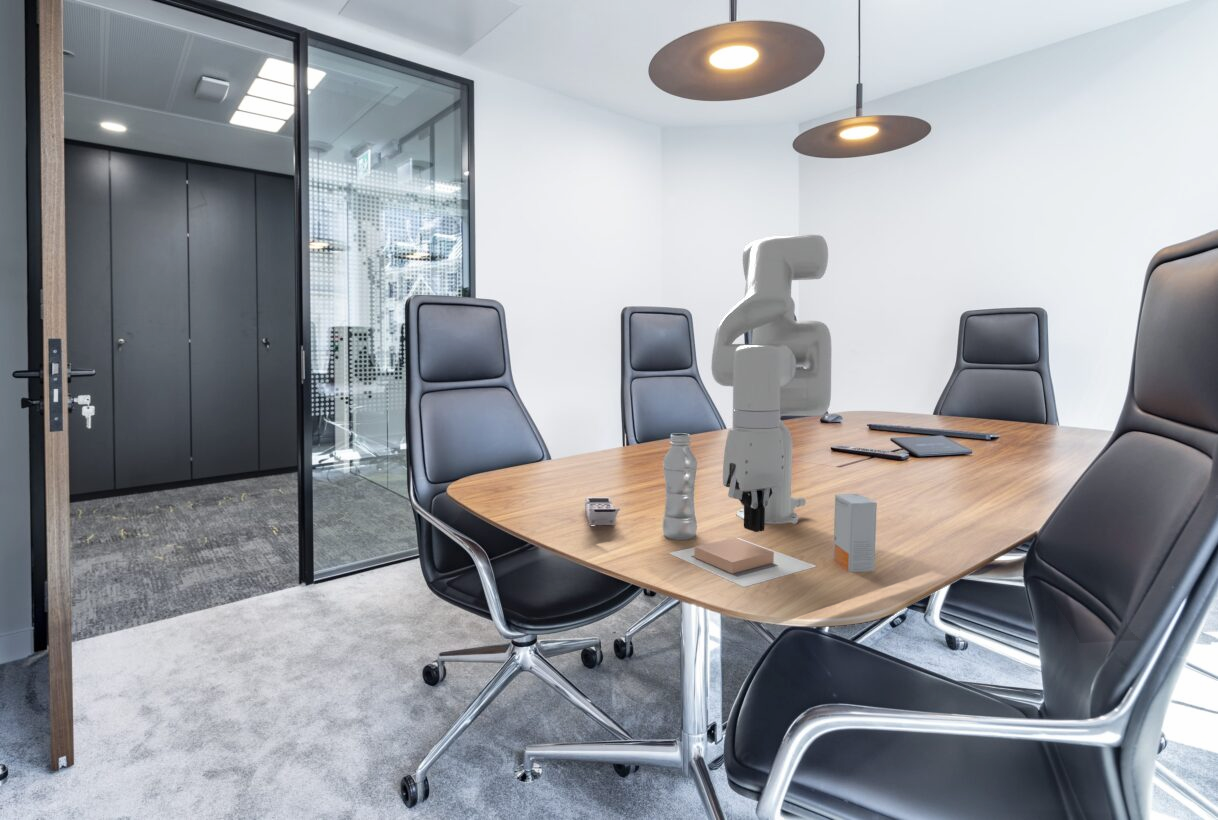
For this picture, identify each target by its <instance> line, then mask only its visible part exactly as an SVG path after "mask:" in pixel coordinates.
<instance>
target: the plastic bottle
mask: <svg viewBox="0 0 1218 820" xmlns="http://www.w3.org/2000/svg"><path fill="white" fill-rule="evenodd" d="M669 440H670V441H669V445H670V449H669V450H668V451H667V453H666V454H665V456H664V457H663V461H662V468H663V477H664V483H665V484H664V485H665V505H664V515H663V519H662V527H661V528H662V533H663V535H664V537H665V538H667V539H670V540H674V541H675V540H676V541H687V540H691V539H694V538H695V537H696V535H697V529H698V522H697V518H696V512H695V511H696V509H695V498H694V497H695V483H696V476H697V468H698V461H697V458H696V456H695V455H694V453H693V451H692V450H691V449H690V445H691V435H690V434H689V433H683V432H682V433H680V432H679V433H678V432H676V433H671V434H670V439H669Z"/></svg>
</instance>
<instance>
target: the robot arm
mask: <svg viewBox="0 0 1218 820" xmlns="http://www.w3.org/2000/svg"><path fill="white" fill-rule="evenodd" d="M828 261H829V248H828V243H827V241H826V239H825V238H824V236H822V235H819V234H802V235H801V234H799V235H783V236H770V237H765V238H763V239H762V238H761V239H758V240H754V241H752V242H750V243H748V245H746V246H745V247H744V250H743V251H742V267H743V274H744V278H745V288H744V289H745V290H744V298H743V299H742V300H740V301H739V302H738V303H737V304H735V306H733V307H732V308H730V310H729V311H728V312H727V313H726V314H725V316H723V318H722V319H721V321H720V322H719V324H718V326H717V329H716V331H715V336H714V340H713V348H712V353H711V354H712V355H711V374H712V377H713V380H714V381H715V382H716V383H717V384H718V385H721V386H722V387H732V428H729V429H728V432H727V436H726V440H725V448H724V456H723V463H722V464H723V469H722V484H723V486H724V487H725V488H729V489H728V494H727V495H728V497H729V498H731V499H735V500H739V501H740V504H741V506H743V508H741V509H738V510H736V513H735V515H736V516H735V517H738V518H739V519H741V520H743V527H744V529H746V530H748V531H752V532H753V533H754V532H755V533H759V532H763V531H765V529H766V528H765V526H766V524H767V525H772V524H773V525H774V524H775V525H779V524H780V525H781V524H789V523H790V524H794V525H797V523H798V522H799V515H798V514H797V513H795V512H794V511H795V509H796V508H800V507H803V506H806V499H805V498H804V497H802V496H800V497H795V498H794V497H793V496H792V475H793V473H792V472H793V471H792V469H793V465H792V464H793V437H792V433H791V431H790V429H789V428H788V426H786V424H785V423H784V422H783V421H782V419H781V418H782V417H783V416H794V417H795V416H796V417H798V416H800V417H804V416H805V417H818V416H822V415H824V414H825V413H827V411H828V410H829V408H830V404H831V397H832V336H831V332H830V329H829V327H828V326H827V324H825V323H824V322H823V321H818V320H795V309H796V307H795V306H796V304H795V301H794V299H793V298H792V284H793V283H792V281H806V280H807V281H809V280H820V279H822V278H823V277H824V275H825V273H826V271H827V268H828V263H829V262H828ZM750 331H752V334H751V343H734V342H735V340H737V339H738V338H739V337H741V336H742V335H744V334H746V333H747V332H750ZM798 367H800V368H798ZM802 367H803V368H802Z"/></svg>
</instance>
